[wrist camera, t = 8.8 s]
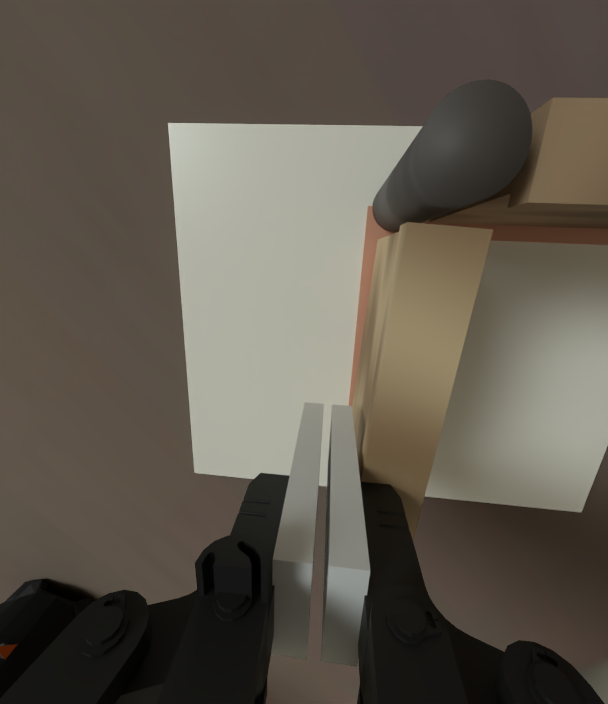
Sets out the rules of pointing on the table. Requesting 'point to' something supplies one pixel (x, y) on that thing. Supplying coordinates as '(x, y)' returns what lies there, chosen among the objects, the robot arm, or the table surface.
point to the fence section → (502, 163)
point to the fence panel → (413, 352)
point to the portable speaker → (31, 627)
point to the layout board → (351, 307)
